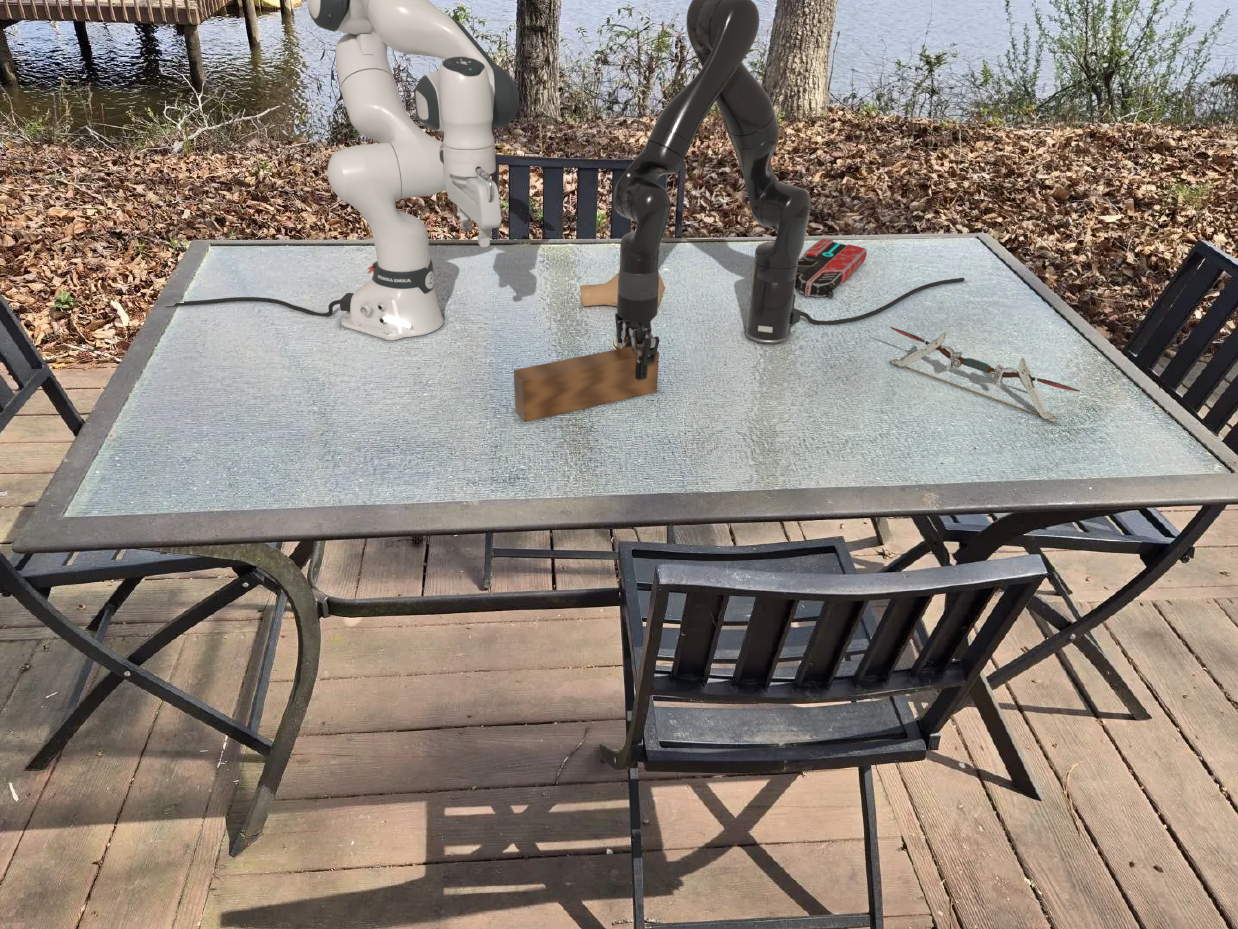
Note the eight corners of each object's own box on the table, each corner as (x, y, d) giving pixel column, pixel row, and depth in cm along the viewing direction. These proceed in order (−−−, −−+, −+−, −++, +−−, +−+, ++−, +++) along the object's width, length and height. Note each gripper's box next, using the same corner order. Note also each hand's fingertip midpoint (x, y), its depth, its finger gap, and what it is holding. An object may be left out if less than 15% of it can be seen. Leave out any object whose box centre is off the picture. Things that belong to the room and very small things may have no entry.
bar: (524, 422, 162) (522, 380, 157) (515, 410, 165) (513, 369, 160) (656, 391, 172) (659, 352, 168) (645, 381, 176) (647, 342, 171)
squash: (667, 316, 202) (664, 283, 196) (581, 324, 204) (575, 291, 198) (665, 291, 210) (662, 258, 204) (583, 298, 212) (577, 266, 205)
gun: (756, 267, 217) (831, 286, 209) (802, 230, 239) (871, 246, 231) (754, 284, 219) (828, 303, 212) (800, 246, 241) (868, 263, 233)
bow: (1069, 424, 166) (1086, 377, 160) (1066, 427, 164) (1083, 380, 159) (885, 357, 187) (894, 314, 181) (880, 360, 186) (890, 317, 180)
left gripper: (508, 174, 147) (511, 253, 154) (468, 145, 162) (473, 219, 169) (472, 178, 144) (477, 258, 152) (435, 148, 159) (442, 223, 167)
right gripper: (675, 301, 157) (669, 385, 167) (638, 274, 168) (634, 354, 177) (638, 308, 154) (634, 393, 164) (602, 279, 165) (601, 361, 174)
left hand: (475, 237), depth 161 cm, fingers open, 8 cm apart
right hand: (634, 372), depth 170 cm, fingers closed on bar, 4 cm apart
